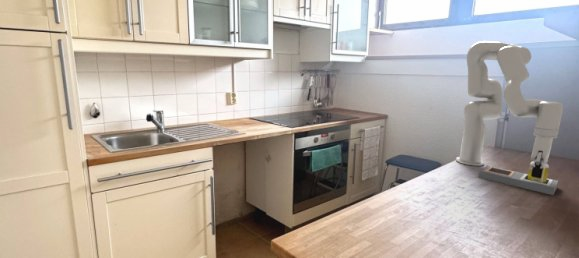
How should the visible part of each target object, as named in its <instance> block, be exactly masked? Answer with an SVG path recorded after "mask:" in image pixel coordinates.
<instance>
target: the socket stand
mask: <svg viewBox="0 0 579 258" xmlns="http://www.w3.org/2000/svg"><path fill="white" fill-rule="evenodd" d="M478 178H480V179H485V180H490V181H492V182H495V183H496V182H497V183H500V184H505V185H510V186H513V187H517V188H522V189H527V190H529V191H535V192H538V193H541V194H546V195H550V196H554V195H555V193H556V190H557V189H558V184H559V180H557V179H551V178H548V177H547V180H546V184H544V183H539V182H535V181H531V180H527V178H528V173H524V172H519V171H514V170H510V169H506V168H501V167H496V166H491V165H486V166H484V167H483V168H481V169H480V170H479V172H478Z"/></svg>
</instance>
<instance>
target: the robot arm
mask: <svg viewBox="0 0 579 258" xmlns="http://www.w3.org/2000/svg"><path fill="white" fill-rule="evenodd" d="M531 59H532V53H531V51H530V49H529V48H527V47H525V46H521V45H516V44H513V43H508V42H502V41H489V40H487V41H486V40H483V41H478V42H476V43H474V44H472V45H471V47H469V48H468V51H467V55H466V66H467V93H468V96H469V97H470V98H474V99H483V100H474V101H469V102H468V103H466V105H465V106H464V109H463V115H464V118H463V119H464V120H463V121H464V125H463V131H462V132H463V133H462V140H461V145H460V154H459V156H457V157H456V158H455V161H456V162H457V163H460V164H463V165H467V166H475V167H480V166H484V164H485V162H484V161H483V160H482V157H483V156H482V155H483V149H484V142H485V136H486V124H485V121H490V120H491V121H492V120H496V119H498V118H500V116H501V114H502V110H503V98H504V102H505V104H506V106H507V109H508V110H509V112H510V114H511V115H512V116H514V117H515V118H516V117H517V118H536V119H535V124H534V130H533V136H535V138H534V142H533V147H532V152H531V156H530V160H532V161H534V160H533V159H535V162H534V166H533V169H532V174H531V176H532V177H537V178H541V176H542V171H543V169H542V167H543V163H544V162H545V161H546V160H547V159H548V160H549V158H550V153H551V149H552V146H553V141H554V139H557V138H558V136H559V129H560V126H561V125H560V124H561V120H562V115H563V110H564V105H563V103H561V102H557V101H547V100H546V101H545V100H543V99H535V98H524V96H523V94H522V91H521V84H522V83H523V82H525V81H526V80H528V79H529V77H530V73H529V71H528V69H527V66H526V65H527V64H529V63H530V61H531ZM485 60H488V61H489V60H490V61H497V63H498V65H499V68H500V70H501V73H502V74H503V77H504V79H505V82H506V84H505V86H504V90H503V89H502V85H501V83H500V82H499V81H498V80H496V79H493V78H489V77H488V76H489V69H488V66H487V63H486V62H485ZM503 91H504V92H503ZM541 159H542V161H541ZM540 162H541V163H540Z"/></svg>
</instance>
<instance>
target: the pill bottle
mask: <svg viewBox="0 0 579 258" xmlns="http://www.w3.org/2000/svg"><path fill="white" fill-rule="evenodd" d="M541 161H542V159H541ZM548 161H549V158H548V159H547V160H546V161H545V162H544V163H543V167H542V169H543V171H542V176H541V178H537V177H532V176H531V174H532V169H533V166H534V162H535V159H533V160H532V161H531V162H530V163H529V166H528V167H529V169H528V173H527V174H528V178H527V180H531V181H535V182H539V183H544V184H546V180H547V178H548V174H549V169H550V166H549V164H548ZM540 163H541V162H540Z"/></svg>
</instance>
